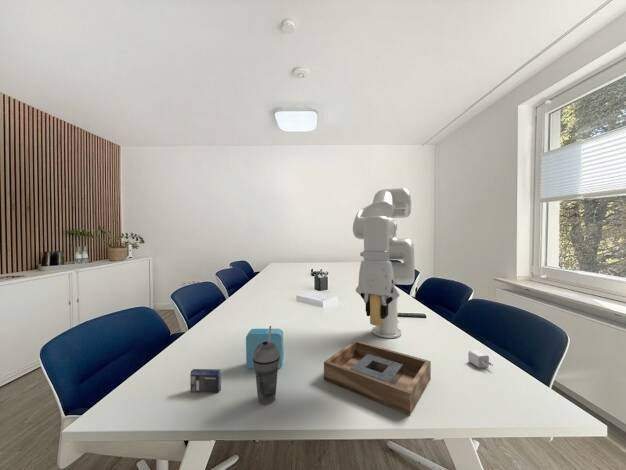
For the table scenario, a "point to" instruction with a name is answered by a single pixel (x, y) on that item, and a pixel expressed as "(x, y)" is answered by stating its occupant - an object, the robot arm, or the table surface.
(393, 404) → the open box
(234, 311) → the table surface
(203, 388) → the mini dv tape
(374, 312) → the peg
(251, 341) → the data package
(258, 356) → the beverage cup
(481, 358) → the usb wall charger
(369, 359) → the bore plate
